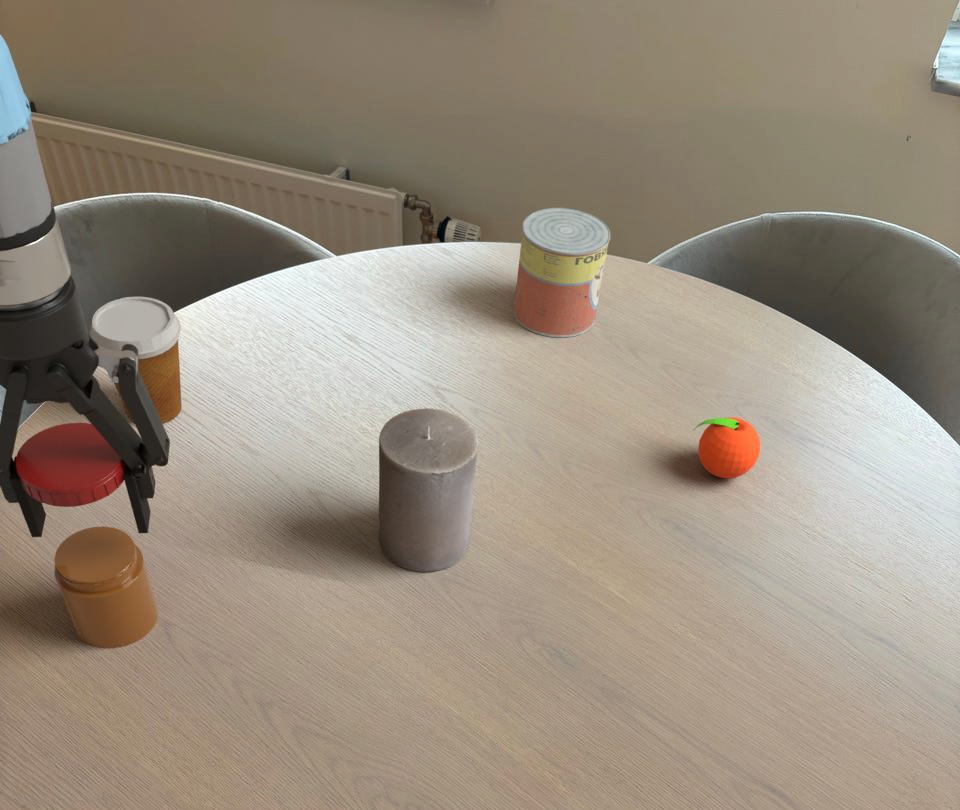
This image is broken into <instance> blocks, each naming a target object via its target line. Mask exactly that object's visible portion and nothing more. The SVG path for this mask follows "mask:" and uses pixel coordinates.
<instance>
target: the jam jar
mask: <svg viewBox="0 0 960 810" xmlns="http://www.w3.org/2000/svg"><path fill="white" fill-rule="evenodd" d="M53 572H54V578H55V581H56V583H57V586H58V589H59V591H60V593H61V596H62V599H63V601H64V604H65V606H66V609H67V612H68V614H69V617H70V619H71V622H72V625H73V627H74V629H75V632H76V634H77V636H78V637H79V638H80V639H81V640H82V641H83V642H85V643H87V644H88V645H91V646H92V647H96V648H102V649H119V648H123V647H127V646H130V645H133V644H135V643H137V642H138V641H140V640H142V639H143V638H145V637H146V636H147V635H148V634H149V633H151V631H152V630H153V628H155V625H156V624H157V621H158V619H159V607H158V604H157V601H156V598H155V597H156V596H155V594H154V591H153V587H152V583H151V580H150V579H151V578H150V576H149V572H148V569H147V564H146V562H145V559H144V554H143V553H142V550H141V549H140V548H139V547H138V545H137V544H135V542H134V540H133V538H132V537H131V536H130V535H129V534H128V533H126V531H123V530H122V529H118V528H115V527H113V526H112V527H110V526H91V527H88V528H87V527H86V528H84V529H81V530H78V531H76V532H74V533H72V534H71V535H69V536H68V537H66V538H65V539H64V540H63V541H62V542H61V543H60V544H59V546H58V547H57V548H56V551H55V553H54V571H53Z"/></svg>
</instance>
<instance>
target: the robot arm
mask: <svg viewBox="0 0 960 810" xmlns="http://www.w3.org/2000/svg"><path fill="white" fill-rule="evenodd" d="M43 166H44V165H43V162H42V159H41V155H40V150H39V147H38V142H37V138H36V133H35V129H34V125H33V120H32V111H31V106H30V101H29V99H28V97H27V96H26V93H25V92H24V89H23V86H22V84H21V80H20V76H19V74H18V71H17V69H16V66H15V63H14V60H13V57H12V55H11V52H10V49H9V46H8V44H7V42H6V41H5V39H4V37H3V36H2V35H1V34H0V386H1V387H2V388H3V389H5V395H4V399H3V405H2V410H1V417H0V490H1V492H2V496H3V497H4V499H5V500H6V501H7V502H8V503H9V504H18V505H19V508H20V511H21V512H22V516H23V518H24V521H25V522H26V525H27V528H28V531H29V533H30V536H31V538H42V536H43V531H44V527H45V522H46V516H47V513H46V511H45V510H46V509H45V508H44V505H43V503H41V502H40V501H38V500H36V499H34V498H33V497H31V496H30V495H29V494H28V493H27V491H26V490H24V489H23V486H22V483H21V481H20V477H19V476H18V473H17V468H16V456H14V458H13V454H14V451H15V445H16V440H17V438H18V437H17V436H18V431H19V426H20V422H21V416H22V413H23V408H24V403H25V401H26V404H27V405H28V404H29V405H33V404H35V405H36V404H42V403H46V402H53V403H57V404H69V405H70V407H72V408H73V410H74V411H75V412H76V413H77V415H80V416H82V415H83V416H84V417H85V418H86V420H88V421H89V424H92V425H93V426H94V427H95V428H96V430H97V431H98V432H99V433H100V434H101V435H102V436H103V438H104V439H105V440H106V441H107V442H108V443H109V444H110V446H111V447H112V448H113V449H114V450H115V451H116V452H117V454H118V455H119V456H120V457H121V458H122V459H123V461H124V462H125V463H126V464H127V465H126V468H125V471H124V474H123V477H124V481H123V482H124V484H125V488H126V492H127V495H128V499H129V503H130V507H131V509H132V513H133V517H134V520H135V525H136V528H137V532H138V534H149V529H150V528H149V527H150V520H151V519H150V518H151V508H150V504H149V503H150V502H149V500H148V499H153V498H154V496H155V491H156V478H155V474H154V469H153V466H156V467H165V466H167V465H168V464H169V456H170V448H171V447H170V445H171V440H170V437H169V435H168V433H167V431H166V429H165V426H164V423H163V424H162V422H161V420H160V417H159V415H158V413H157V411H156V408H155V406H154V404H153V402H152V399H151V397H150V395H149V393H148V390H147V388H146V386H145V384H144V382H143V379H142V377H141V375H140V373H139V363H138V349H137V348H136V347H135V346H134V345H132V344H125V345H123V347H122V349H121V351H120V350H112V349H104V348H99V346H98V345H97V343H96V342H95V341H94V340H93V339H92V338H91V336H90V332H89V331H88V327H87V324H86V319H85V317H84V312H83V308H82V305H81V300H80V298H79V294H78V290H77V287H76V283H75V280H74V278H73V277H72V274H71V270H72V267H71V263H70V259H69V256H68V253H67V248H66V245H65V242H64V238H63V235H62V231H61V228H60V224H59V221H58V217H57V213H56V210H55V207H54V203H53V200H52V198H51V193H50V190H49V186H48V182H47V178H46V174H45V170H44V167H43ZM98 367H100V368H102V369H104V370H105V371H106V372H107V376H108V377H109V378H110V379H111V382H112V383H113V384H114V383H119V390H120V393H121V396H122V398H123V400H124V402H125V405H126V407H127V409H128V411H129V413H130V415H131V417H132V419H133V420H132V422H133V423H134V426H135V428H136V430H137V431H136V430H135V429H134V428H133V426H132V424H130V422H129V421H128V420H127V419H126V418H125V416H123V414H122V413H121V411H119V410H118V408H117V407H116V406H115V404H114V403H113V402H112V401H111V400H110V398H108V396H107V395H106V393H105V392H103V390H102V389H101V386H100V383H99V381H98V380H97V378H96V376H95V375H94V374H95V372H96V370H97V369H98Z"/></svg>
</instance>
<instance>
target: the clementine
mask: <svg viewBox="0 0 960 810" xmlns="http://www.w3.org/2000/svg"><path fill="white" fill-rule="evenodd" d="M703 425H708V426H707V427H705V429H704V431H703V433H702V434H701V436H700V438H699V440H698V441H699V442H698V449H697V452H698V456H699V460H700V463H701V464H702V465H703V467H704V468H705V470H706V471H707V472H708V473H710V474H711V475H713V476H715V477H719V478H720V479H721V478H722V479H733V478H739V477H741V476H743V475H745V474H746V473H748V472H749V471H750V470H751V469H752V468H754V466H755V465H756V462H757V461H758V458H759V457H760V452H761V440H760V436H759V434H758V432H757V430H756V428H755V427H754V426H753V425H752V424H751V423H749V422H748V421H746V420H745V419H742V418H741V417H740V418H739V417H733V416H732V417H730V416H727V417H714V418H710V419H706V420H703V421H702V422H700V423H698V424H697V425H696V426H695V427H694V429H693V430H692V432H694V431H695V430H696V429H697V428H699V427H701V426H703Z"/></svg>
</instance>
